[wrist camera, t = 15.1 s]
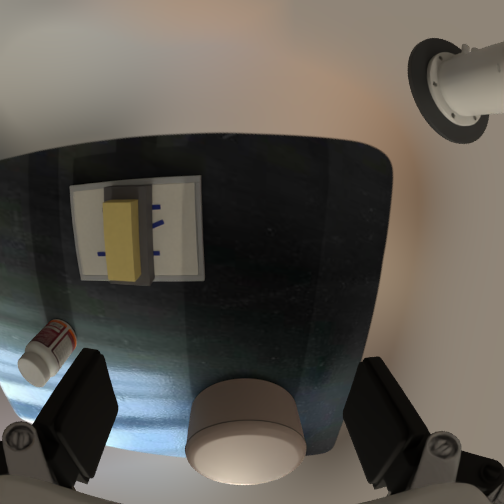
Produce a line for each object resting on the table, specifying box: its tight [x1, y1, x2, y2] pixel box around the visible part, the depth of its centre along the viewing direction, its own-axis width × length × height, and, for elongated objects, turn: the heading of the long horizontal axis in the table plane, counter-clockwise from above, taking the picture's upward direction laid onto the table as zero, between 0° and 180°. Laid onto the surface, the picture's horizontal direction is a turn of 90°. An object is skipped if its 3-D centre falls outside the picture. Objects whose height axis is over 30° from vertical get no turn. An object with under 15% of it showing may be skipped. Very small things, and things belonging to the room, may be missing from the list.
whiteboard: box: [70, 175, 205, 281], centre depth 35 cm, size 18×13×1 cm
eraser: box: [103, 185, 155, 286], centre depth 32 cm, size 12×6×5 cm, turn 177°
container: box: [185, 378, 307, 485], centre depth 40 cm, size 18×18×12 cm
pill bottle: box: [18, 319, 77, 387], centre depth 34 cm, size 6×6×11 cm
